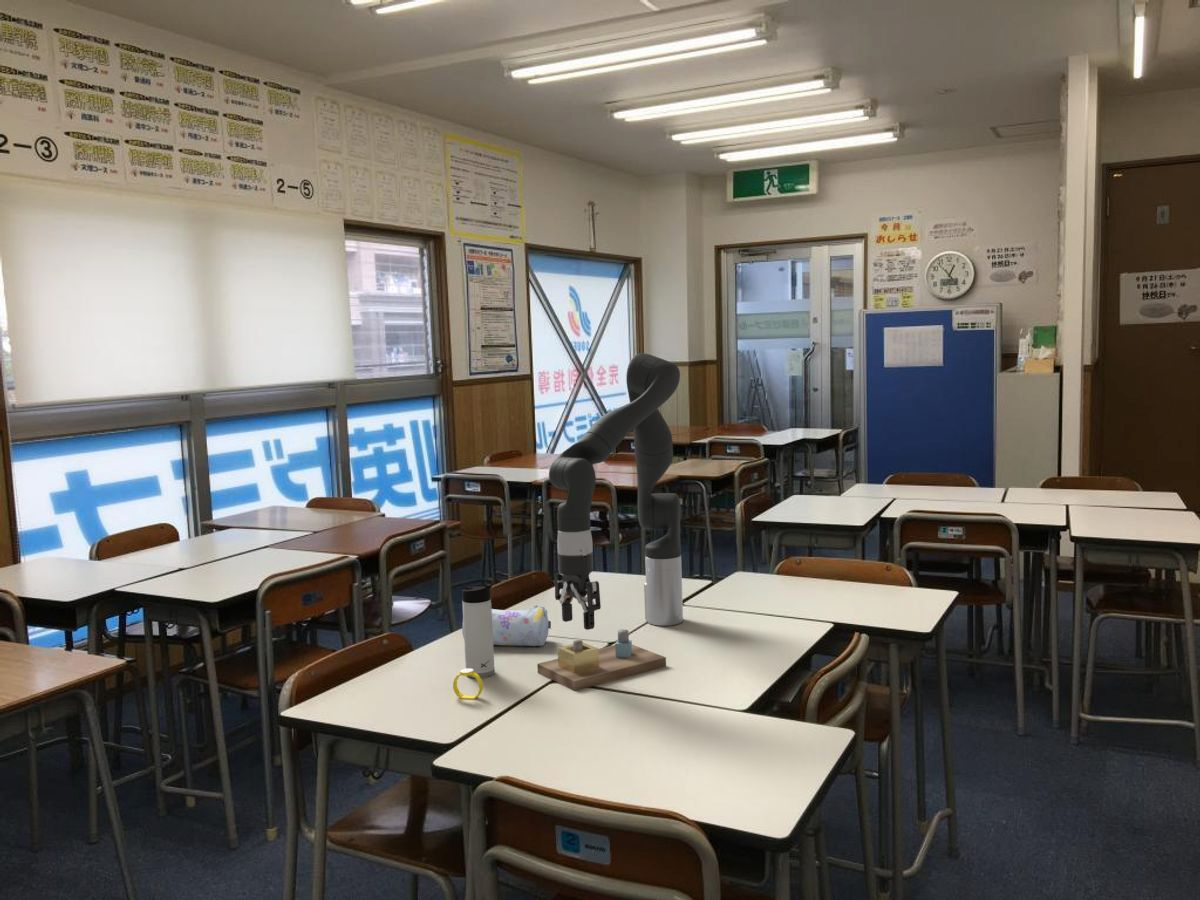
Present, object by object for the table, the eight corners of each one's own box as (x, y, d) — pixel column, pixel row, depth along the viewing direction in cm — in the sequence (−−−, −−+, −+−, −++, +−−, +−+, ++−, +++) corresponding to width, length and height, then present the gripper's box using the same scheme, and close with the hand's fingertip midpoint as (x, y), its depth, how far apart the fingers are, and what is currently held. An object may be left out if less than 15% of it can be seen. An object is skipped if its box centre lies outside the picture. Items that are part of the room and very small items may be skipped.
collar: (558, 665, 208) (557, 647, 207) (583, 659, 211) (582, 642, 211) (574, 673, 202) (573, 654, 202) (599, 666, 206) (598, 648, 205)
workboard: (537, 672, 210) (536, 639, 209) (626, 650, 223) (625, 619, 222) (574, 690, 197) (573, 655, 197) (666, 666, 211) (665, 632, 210)
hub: (615, 657, 212) (614, 632, 212) (618, 652, 215) (617, 628, 215) (629, 657, 211) (628, 633, 211) (632, 652, 215) (631, 628, 214)
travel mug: (491, 679, 207) (486, 588, 205) (462, 678, 208) (457, 588, 206) (499, 669, 213) (495, 581, 211) (471, 668, 214) (467, 581, 212)
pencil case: (552, 639, 235) (550, 601, 234) (545, 650, 226) (543, 611, 225) (470, 639, 238) (468, 602, 237) (459, 650, 229) (457, 611, 228)
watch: (453, 701, 195) (449, 673, 194) (458, 696, 197) (454, 668, 197) (481, 700, 193) (477, 671, 193) (485, 695, 196) (482, 667, 196)
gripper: (542, 548, 208) (546, 621, 209) (578, 557, 196) (581, 635, 198) (571, 543, 212) (574, 615, 213) (608, 552, 200) (611, 628, 202)
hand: (578, 624), depth 206 cm, fingers open, 8 cm apart
